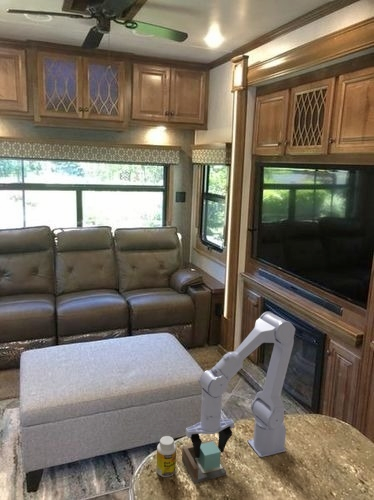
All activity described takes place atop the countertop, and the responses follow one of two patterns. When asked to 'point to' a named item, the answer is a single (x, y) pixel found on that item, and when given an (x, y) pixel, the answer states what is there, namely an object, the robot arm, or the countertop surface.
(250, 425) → the countertop surface
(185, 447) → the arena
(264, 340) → the robot arm
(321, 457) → the countertop surface
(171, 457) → the supplement bottle
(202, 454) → the teal block
